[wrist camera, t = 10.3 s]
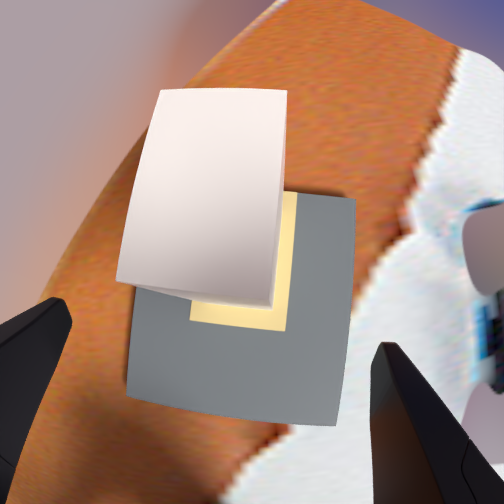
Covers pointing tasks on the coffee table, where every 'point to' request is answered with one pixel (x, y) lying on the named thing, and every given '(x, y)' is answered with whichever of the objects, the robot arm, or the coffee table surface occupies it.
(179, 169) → the panel
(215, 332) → the board
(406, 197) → the coffee table surface
